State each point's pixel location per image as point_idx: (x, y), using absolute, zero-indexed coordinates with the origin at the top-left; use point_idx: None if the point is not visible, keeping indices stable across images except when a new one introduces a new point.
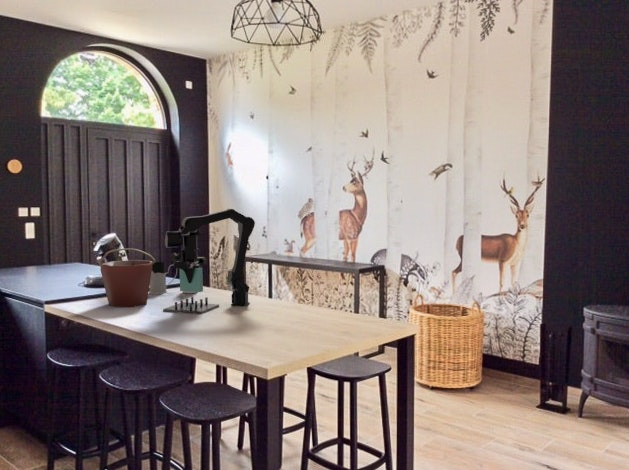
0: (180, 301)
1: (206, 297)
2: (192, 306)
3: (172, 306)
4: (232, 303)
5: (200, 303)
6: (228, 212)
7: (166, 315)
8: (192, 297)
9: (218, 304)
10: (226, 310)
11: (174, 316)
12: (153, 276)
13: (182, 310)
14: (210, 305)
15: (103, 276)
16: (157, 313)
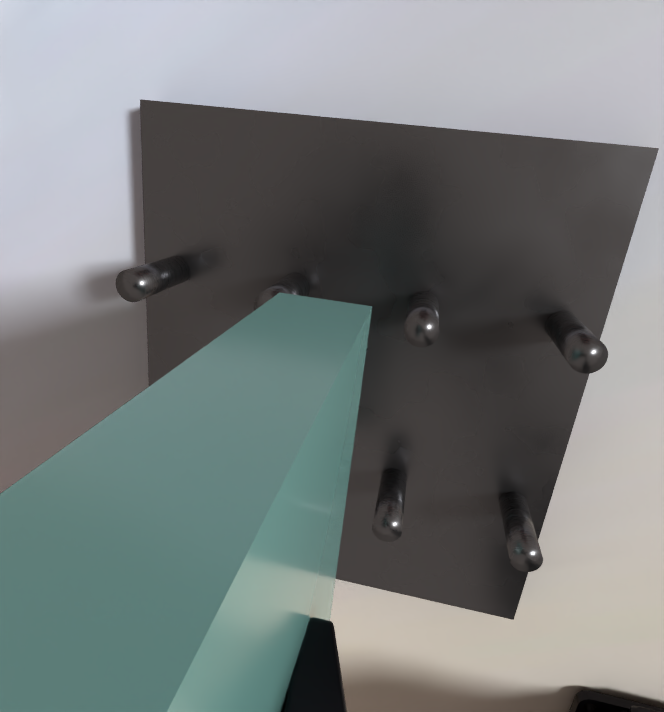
0: (263, 291)
1: (530, 559)
2: (362, 392)
3: (317, 142)
4: (624, 708)
5: (380, 491)
6: None
7: (15, 242)
8: (567, 361)
9: (510, 614)
10: (350, 672)
11: (12, 336)
12: None
13: (148, 359)
14: (445, 554)
15: None
16: (52, 89)
